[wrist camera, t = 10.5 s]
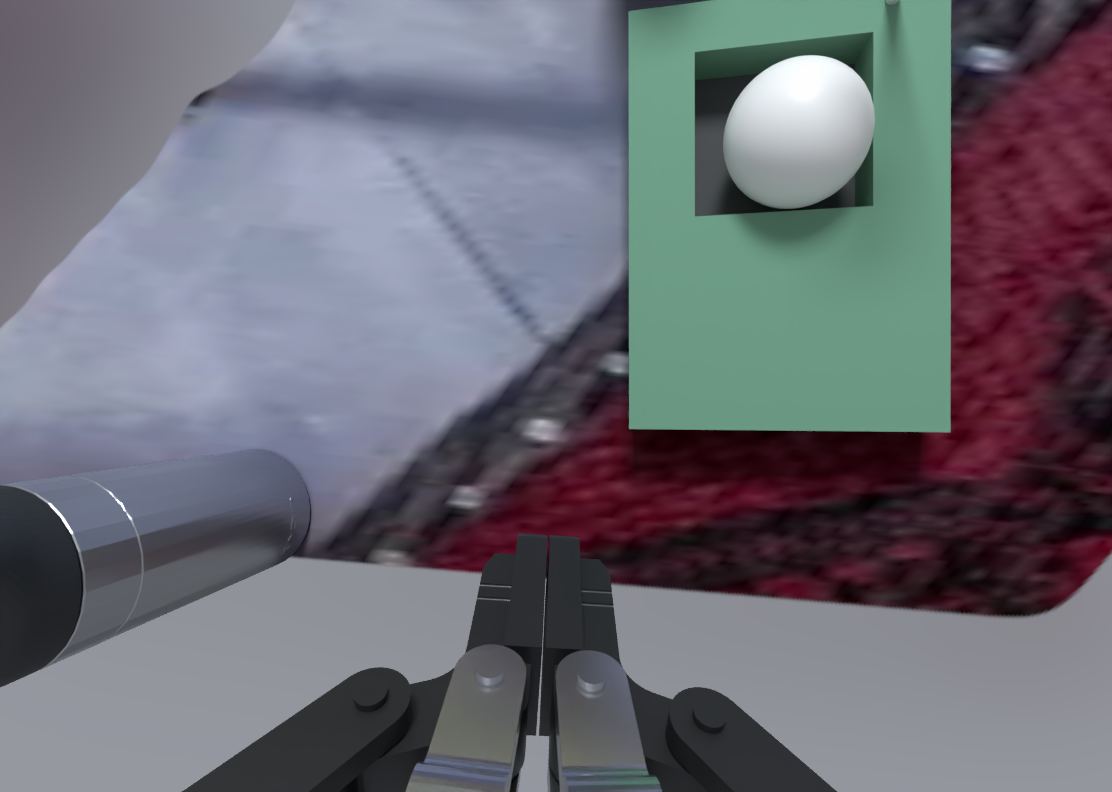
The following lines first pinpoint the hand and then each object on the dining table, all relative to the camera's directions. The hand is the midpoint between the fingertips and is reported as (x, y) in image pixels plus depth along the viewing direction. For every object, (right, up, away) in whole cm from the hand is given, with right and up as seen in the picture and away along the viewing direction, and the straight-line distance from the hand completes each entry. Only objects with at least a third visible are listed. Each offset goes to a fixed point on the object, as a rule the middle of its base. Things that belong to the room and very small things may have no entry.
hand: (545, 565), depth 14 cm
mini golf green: (+14, +15, +23) cm, 31 cm away
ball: (+14, +19, +19) cm, 30 cm away
